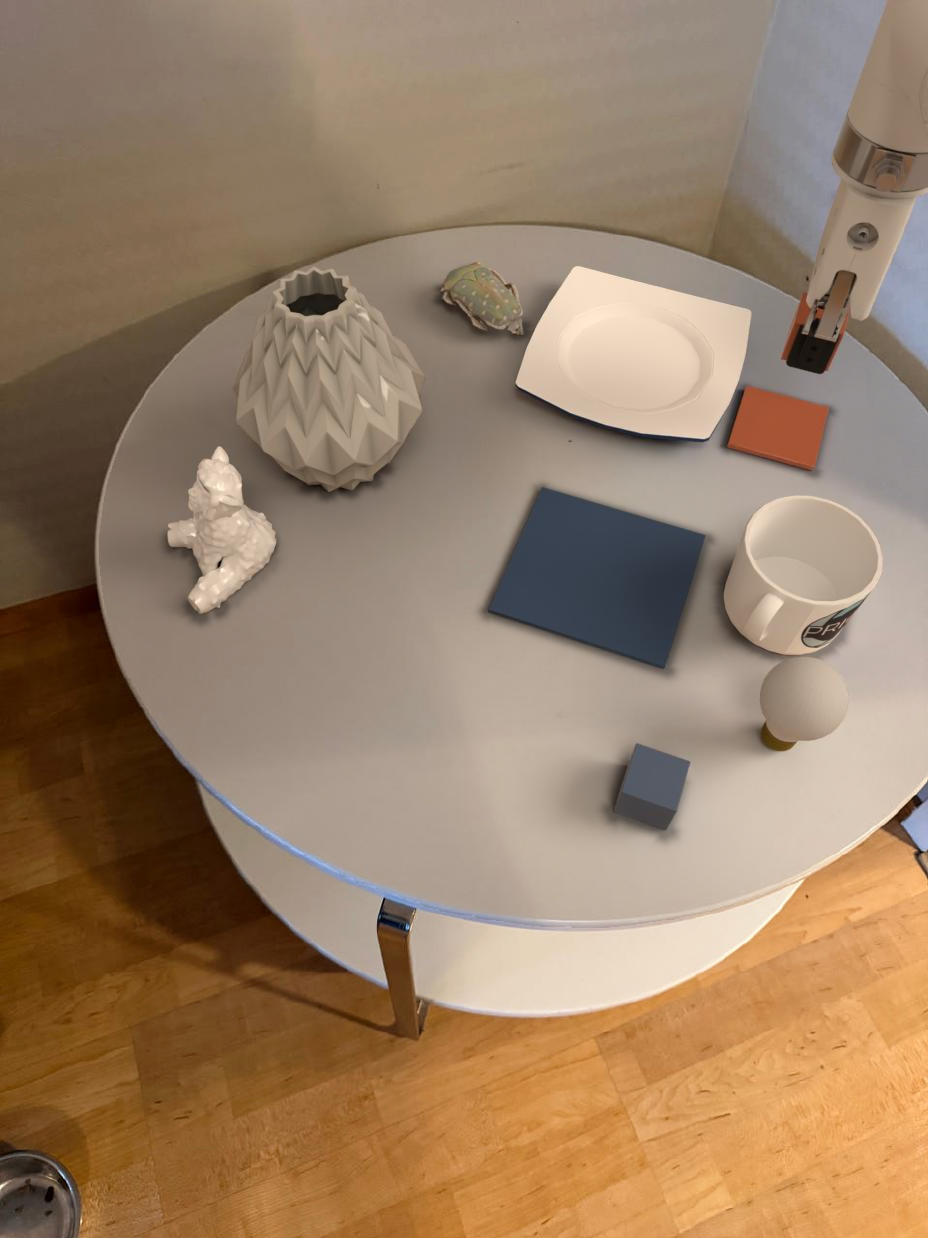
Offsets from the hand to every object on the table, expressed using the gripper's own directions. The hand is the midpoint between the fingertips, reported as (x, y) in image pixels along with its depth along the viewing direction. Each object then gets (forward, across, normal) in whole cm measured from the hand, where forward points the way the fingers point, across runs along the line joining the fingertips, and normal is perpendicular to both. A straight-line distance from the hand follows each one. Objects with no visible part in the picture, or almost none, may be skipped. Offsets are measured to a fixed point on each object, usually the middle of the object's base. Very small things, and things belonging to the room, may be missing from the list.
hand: (810, 347), depth 81 cm
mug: (+10, -21, -4) cm, 24 cm away
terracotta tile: (+10, 0, 0) cm, 10 cm away
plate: (+10, +3, +15) cm, 18 cm away
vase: (+10, -18, +37) cm, 42 cm away
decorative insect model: (+10, +6, +32) cm, 34 cm away
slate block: (+10, -40, +2) cm, 41 cm away
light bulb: (+10, -32, -6) cm, 34 cm away
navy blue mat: (+10, -22, +11) cm, 27 cm away
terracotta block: (0, 0, 0) cm, 0 cm away
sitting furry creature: (+10, -32, +41) cm, 53 cm away
